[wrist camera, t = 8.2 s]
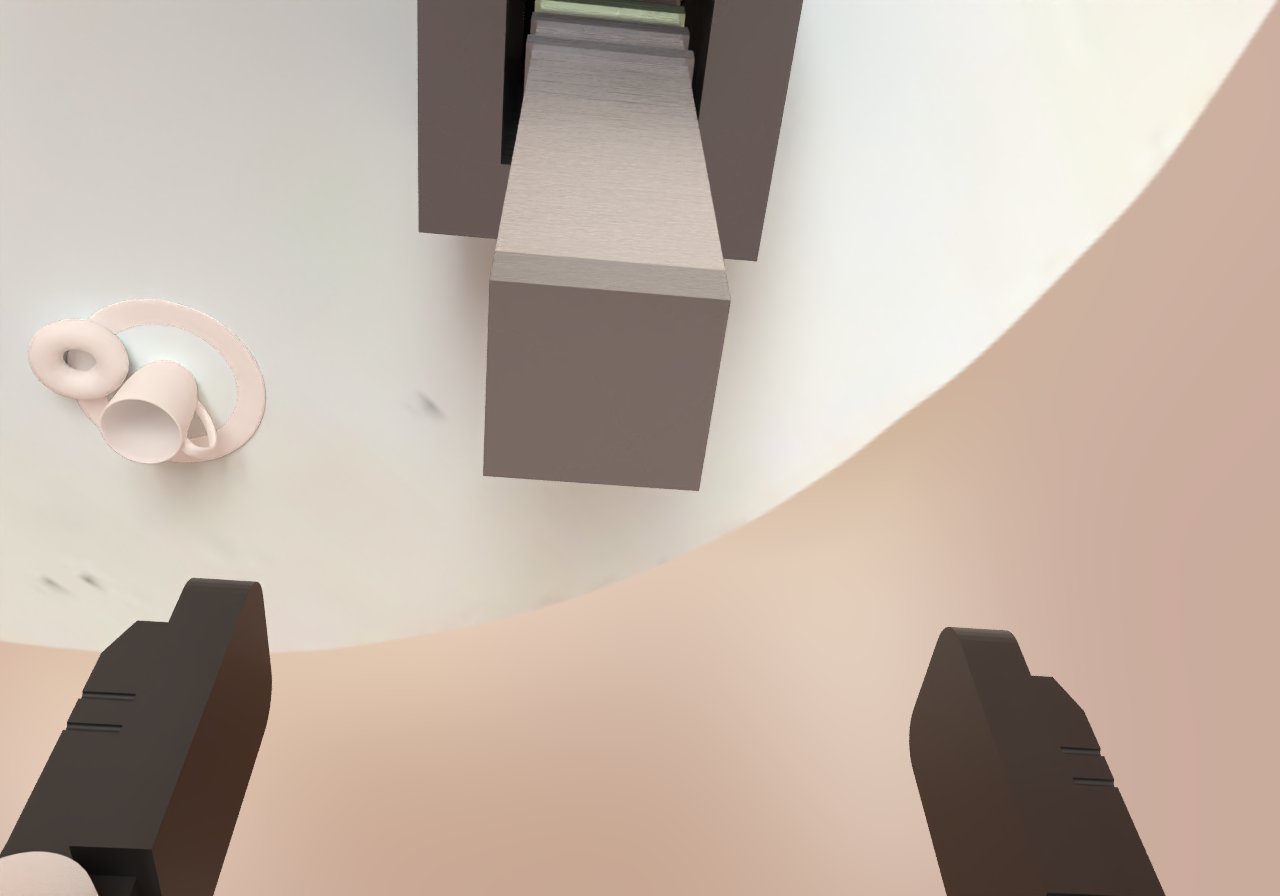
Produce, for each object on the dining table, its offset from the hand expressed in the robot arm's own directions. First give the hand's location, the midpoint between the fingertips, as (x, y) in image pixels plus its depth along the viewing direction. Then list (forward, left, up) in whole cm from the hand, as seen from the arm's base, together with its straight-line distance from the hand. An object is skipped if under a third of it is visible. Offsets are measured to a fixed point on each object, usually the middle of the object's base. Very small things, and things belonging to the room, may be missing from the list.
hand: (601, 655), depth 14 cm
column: (0, 0, -25) cm, 25 cm away
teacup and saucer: (+14, -17, -32) cm, 39 cm away
